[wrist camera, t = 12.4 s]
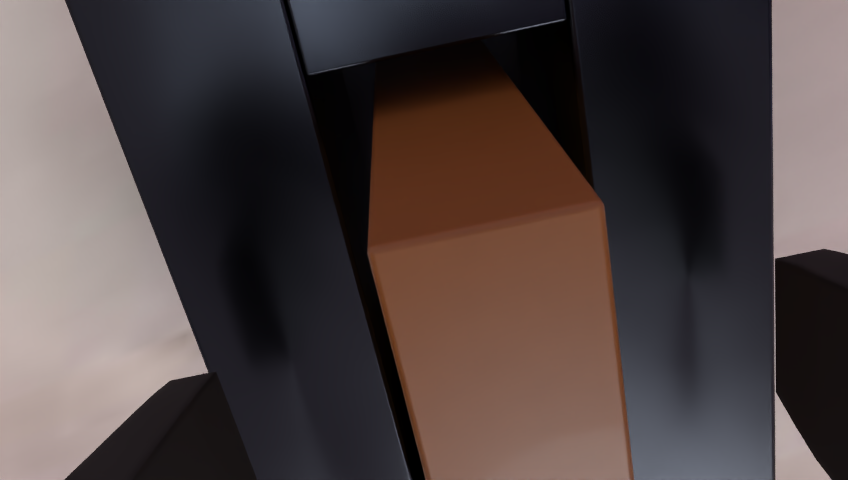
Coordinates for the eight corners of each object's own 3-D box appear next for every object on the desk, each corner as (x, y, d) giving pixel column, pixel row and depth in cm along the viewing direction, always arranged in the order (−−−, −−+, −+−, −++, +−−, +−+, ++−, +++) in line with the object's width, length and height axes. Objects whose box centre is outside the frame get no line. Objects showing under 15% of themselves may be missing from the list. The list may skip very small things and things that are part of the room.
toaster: (623, -200, 13) (773, -267, 8) (670, 395, 19) (778, 578, 14) (158, -96, 14) (24, -98, 9) (336, 461, 19) (319, 664, 14)
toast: (479, 31, 14) (611, 199, 6) (527, 319, 17) (664, 708, 9) (372, 54, 14) (359, 250, 6) (436, 337, 17) (488, 740, 9)
